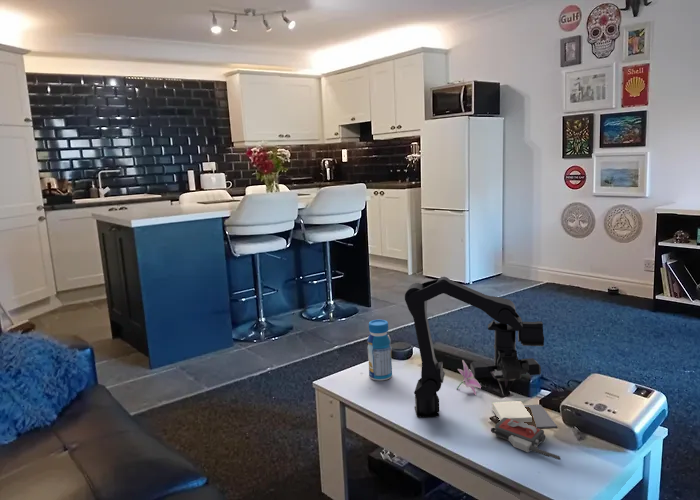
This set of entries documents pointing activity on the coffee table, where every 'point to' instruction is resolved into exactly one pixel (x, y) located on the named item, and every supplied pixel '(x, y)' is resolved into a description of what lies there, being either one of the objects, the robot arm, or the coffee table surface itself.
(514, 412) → the tile
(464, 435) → the coffee table surface
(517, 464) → the coffee table surface
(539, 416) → the mat
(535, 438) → the walkie-talkie
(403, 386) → the coffee table surface
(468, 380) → the lily
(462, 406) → the coffee table surface
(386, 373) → the beverage bottle
